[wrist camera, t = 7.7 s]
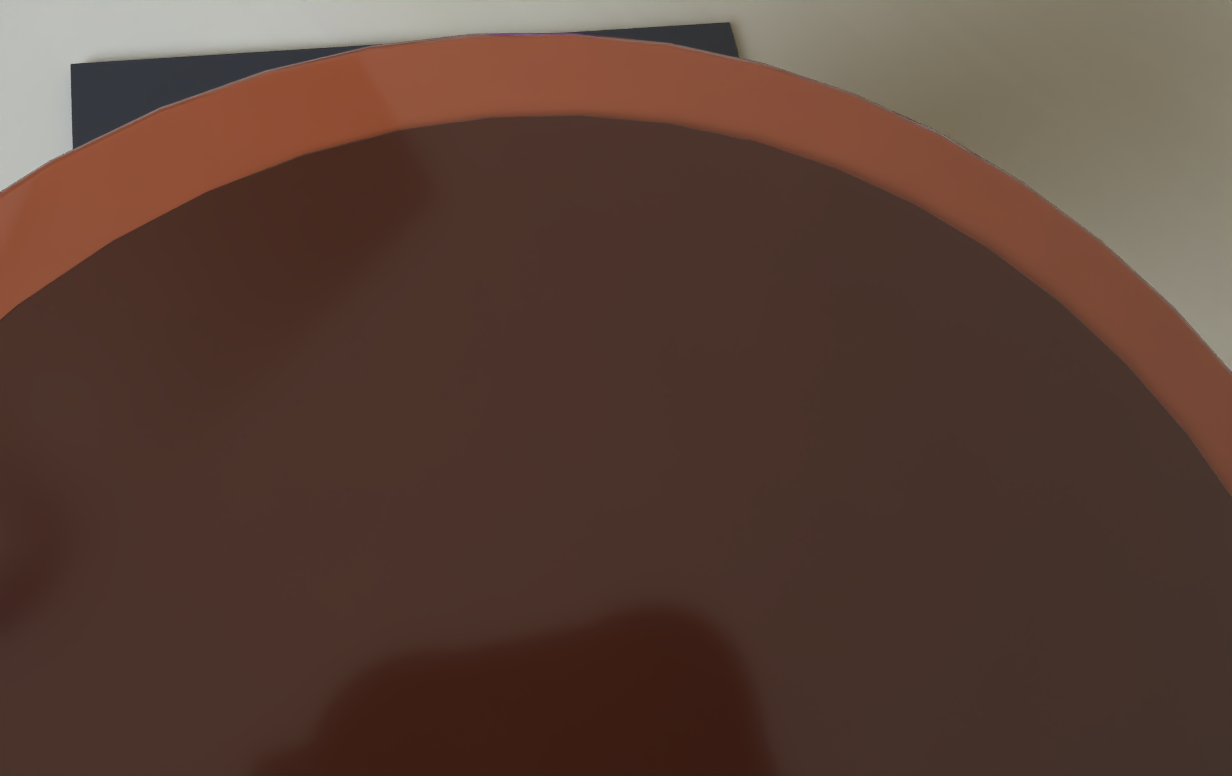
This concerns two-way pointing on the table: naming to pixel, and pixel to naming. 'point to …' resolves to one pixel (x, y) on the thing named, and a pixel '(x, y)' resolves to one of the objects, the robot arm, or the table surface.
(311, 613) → the tumbler
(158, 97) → the desk mat
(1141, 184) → the table surface
